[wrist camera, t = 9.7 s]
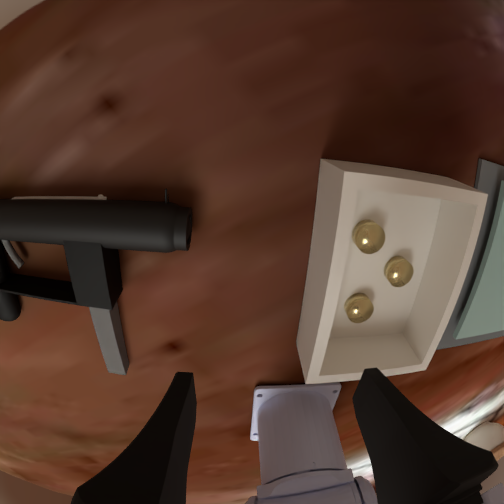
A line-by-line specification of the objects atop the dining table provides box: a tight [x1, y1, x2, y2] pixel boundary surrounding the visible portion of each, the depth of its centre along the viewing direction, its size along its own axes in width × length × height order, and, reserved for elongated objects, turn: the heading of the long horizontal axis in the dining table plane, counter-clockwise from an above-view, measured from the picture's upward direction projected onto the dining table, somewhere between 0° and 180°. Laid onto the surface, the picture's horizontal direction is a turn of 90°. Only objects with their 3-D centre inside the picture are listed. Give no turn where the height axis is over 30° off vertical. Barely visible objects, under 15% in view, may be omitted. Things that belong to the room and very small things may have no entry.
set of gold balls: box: [344, 219, 414, 323], centre depth 20 cm, size 8×5×1 cm, turn 177°
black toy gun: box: [0, 189, 192, 375], centre depth 20 cm, size 3×20×16 cm
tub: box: [296, 159, 488, 384], centre depth 19 cm, size 14×10×4 cm
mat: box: [436, 159, 504, 350], centre depth 22 cm, size 18×14×1 cm
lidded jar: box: [464, 421, 504, 461], centre depth 33 cm, size 11×11×9 cm
